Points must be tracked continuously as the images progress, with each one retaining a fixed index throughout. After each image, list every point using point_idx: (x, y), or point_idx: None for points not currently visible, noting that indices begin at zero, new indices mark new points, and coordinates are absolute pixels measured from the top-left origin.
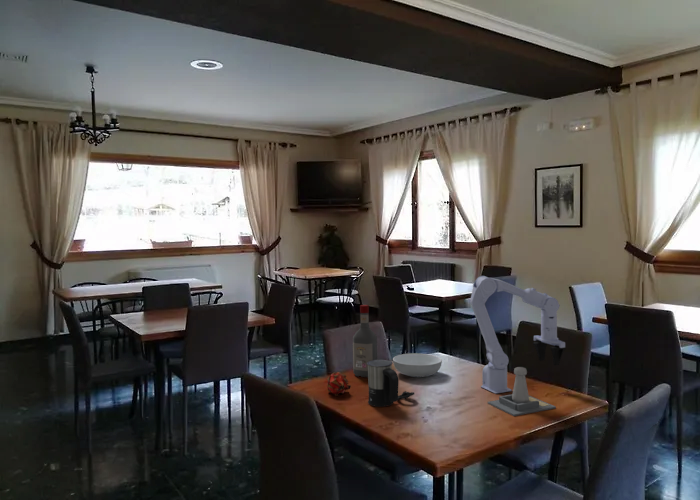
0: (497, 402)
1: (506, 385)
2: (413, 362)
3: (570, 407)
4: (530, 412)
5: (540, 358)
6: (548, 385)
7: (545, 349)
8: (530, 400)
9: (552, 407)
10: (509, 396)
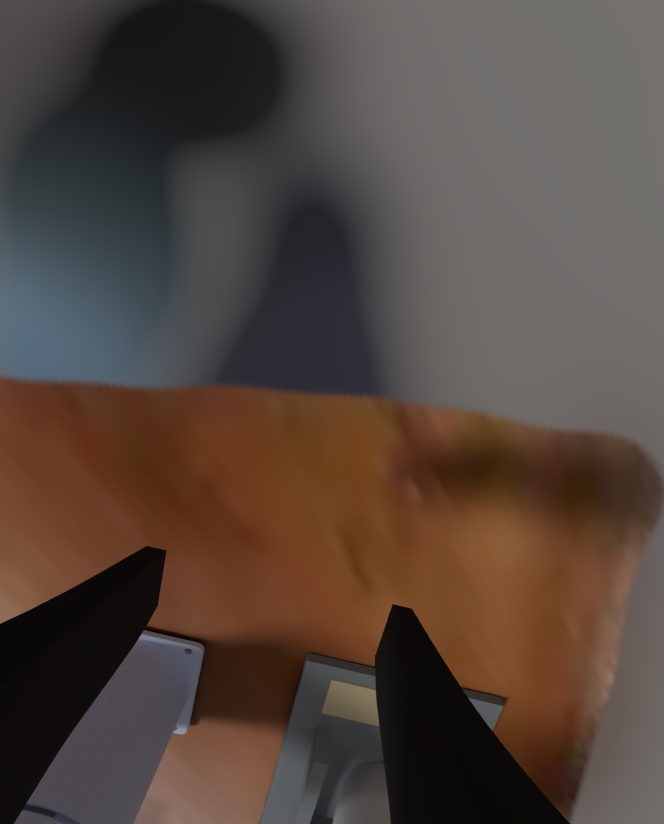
0: (288, 821)
1: (174, 698)
2: None
3: (547, 642)
4: None
5: (140, 628)
6: (255, 403)
7: (38, 661)
8: (372, 720)
9: (495, 719)
10: (311, 816)
